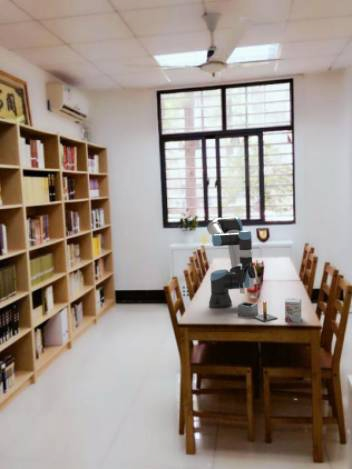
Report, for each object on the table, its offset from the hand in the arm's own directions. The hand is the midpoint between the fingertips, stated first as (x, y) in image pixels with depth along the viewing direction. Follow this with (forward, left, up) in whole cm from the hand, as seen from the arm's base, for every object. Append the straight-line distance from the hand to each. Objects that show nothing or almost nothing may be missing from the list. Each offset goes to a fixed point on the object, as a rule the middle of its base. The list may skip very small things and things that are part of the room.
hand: (247, 291), depth 266 cm
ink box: (+24, +14, -15) cm, 32 cm away
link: (0, 0, -15) cm, 14 cm away
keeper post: (+13, +3, -14) cm, 20 cm away
